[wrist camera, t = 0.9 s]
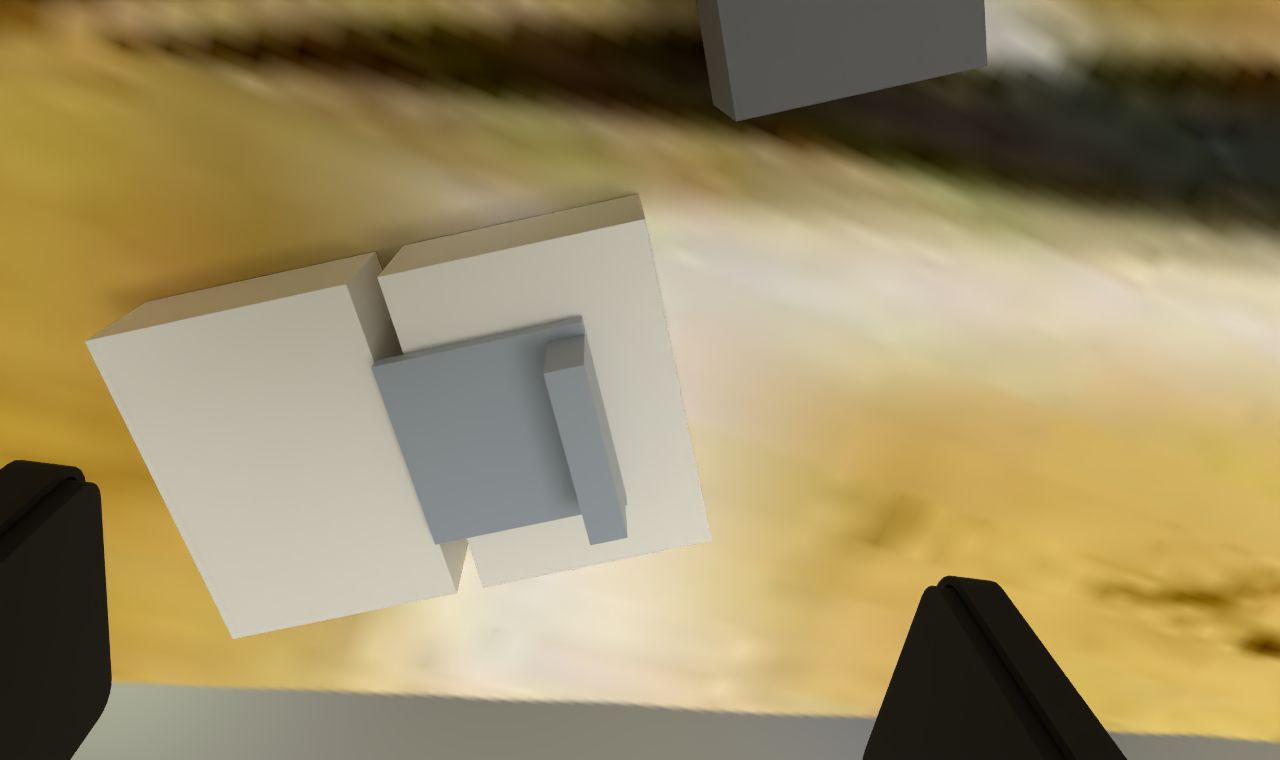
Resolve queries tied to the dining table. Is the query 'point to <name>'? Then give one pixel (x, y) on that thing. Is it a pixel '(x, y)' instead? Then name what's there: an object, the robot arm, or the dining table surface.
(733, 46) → the plug
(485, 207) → the dining table surface
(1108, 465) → the dining table surface
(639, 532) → the socket
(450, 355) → the plate
